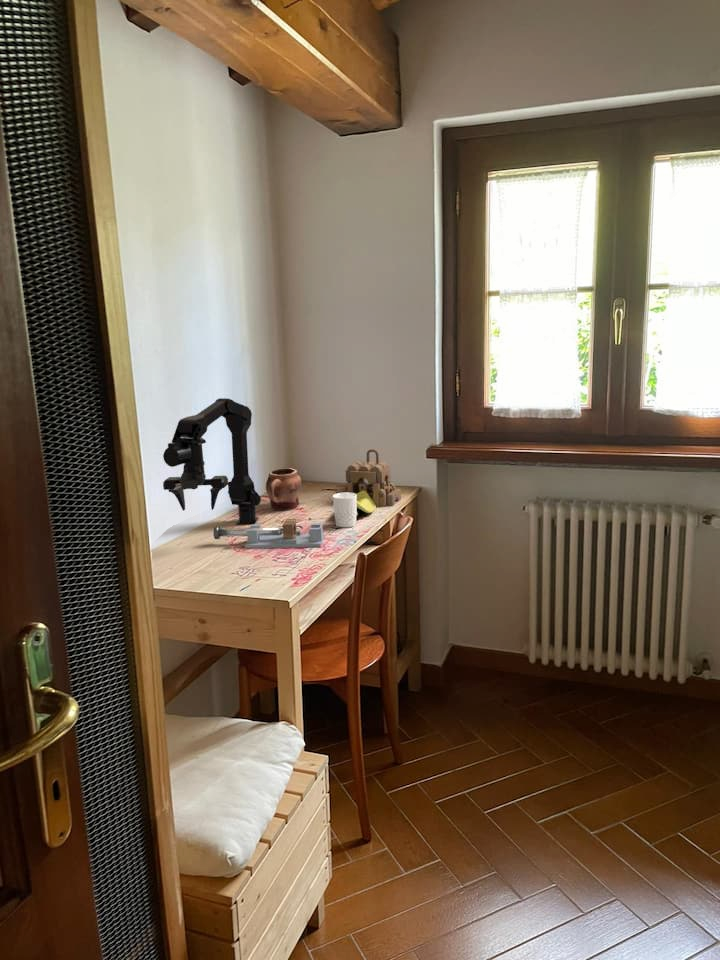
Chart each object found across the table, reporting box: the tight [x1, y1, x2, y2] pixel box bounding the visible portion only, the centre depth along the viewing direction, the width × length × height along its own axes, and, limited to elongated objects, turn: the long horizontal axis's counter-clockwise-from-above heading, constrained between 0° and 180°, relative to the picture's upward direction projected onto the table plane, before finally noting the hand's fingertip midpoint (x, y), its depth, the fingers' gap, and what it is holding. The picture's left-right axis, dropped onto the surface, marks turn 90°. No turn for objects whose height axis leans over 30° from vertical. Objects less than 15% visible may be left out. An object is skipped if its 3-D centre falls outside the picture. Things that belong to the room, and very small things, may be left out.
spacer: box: [282, 518, 297, 540], centre depth 224 cm, size 7×3×6 cm, turn 176°
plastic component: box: [357, 491, 377, 516], centre depth 254 cm, size 20×7×10 cm
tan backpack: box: [335, 448, 402, 508], centre depth 268 cm, size 22×15×19 cm, turn 68°
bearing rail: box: [244, 522, 325, 549], centre depth 225 cm, size 10×23×5 cm, turn 86°
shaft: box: [213, 525, 283, 540], centre depth 225 cm, size 4×21×4 cm, turn 86°
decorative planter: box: [265, 467, 302, 511], centre depth 263 cm, size 20×12×14 cm, turn 168°
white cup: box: [332, 492, 358, 528], centre depth 240 cm, size 8×8×10 cm
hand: (198, 509), depth 225 cm, fingers open, 9 cm apart
